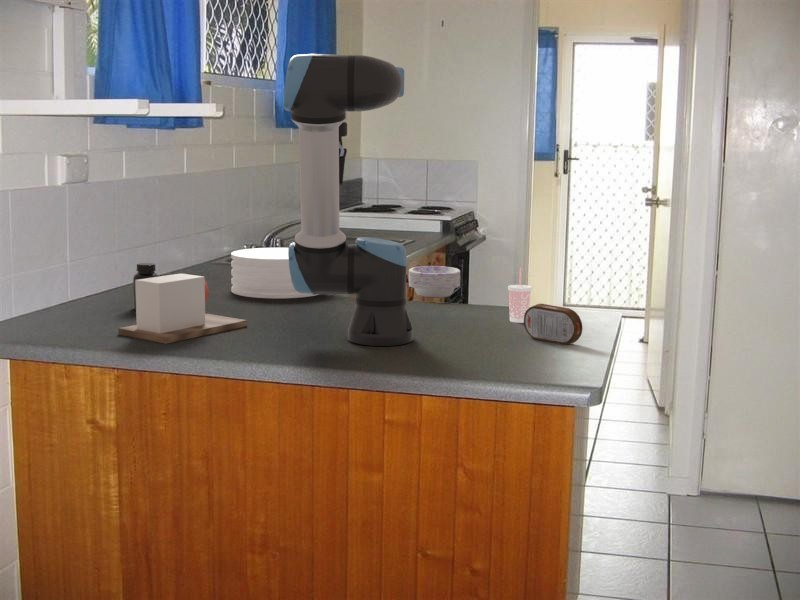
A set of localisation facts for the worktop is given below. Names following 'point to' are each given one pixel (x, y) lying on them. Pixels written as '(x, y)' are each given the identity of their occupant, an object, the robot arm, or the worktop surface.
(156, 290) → the block
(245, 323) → the board
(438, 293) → the paper bowls
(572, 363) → the worktop surface
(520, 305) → the beverage cup
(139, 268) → the supplement bottle
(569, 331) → the tin
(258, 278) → the plate stack
